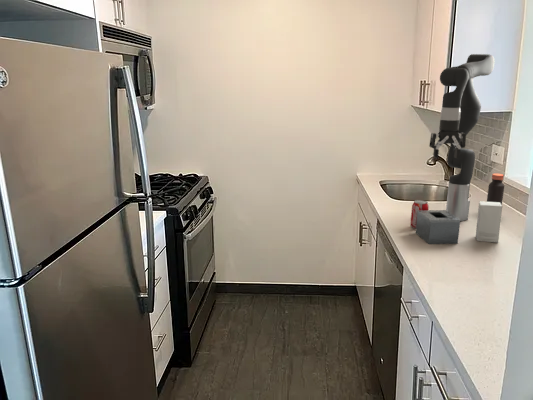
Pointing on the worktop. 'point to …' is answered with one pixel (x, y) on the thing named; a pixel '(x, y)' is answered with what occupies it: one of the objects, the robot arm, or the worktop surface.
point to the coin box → (437, 227)
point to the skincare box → (488, 221)
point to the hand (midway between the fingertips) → (446, 158)
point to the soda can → (415, 207)
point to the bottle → (496, 189)
